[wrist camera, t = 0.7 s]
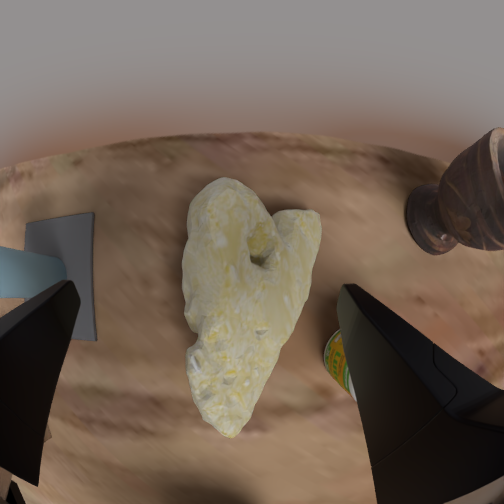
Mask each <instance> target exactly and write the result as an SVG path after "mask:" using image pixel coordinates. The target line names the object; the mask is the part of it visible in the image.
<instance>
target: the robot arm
mask: <svg viewBox="0 0 504 504" xmlns="http://www.w3.org/2000/svg"><path fill="white" fill-rule="evenodd" d="M80 305H81V299H80V296H79V294H78V291H77V289H76V286H75V284H74V282H73V281H72V280H61V281H59V282H58V283H56V284H54V285H52V286H51V287H49V288H47V289H46V290H44V291H42V292H41V293H39V294H37V295H36V296H34V297H32V298H31V299H29V300H28V301H26V302H24V303H23V304H21V305H20V306H18V307H16V308H15V309H13V310H12V311H10V312H9V313H7V314H6V315H4V316H3V317H1V318H0V504H26V503H25V501H24V499H23V497H22V494H21V492H20V490H19V487H18V485H17V483H15V482H14V481H13V480H11V478H12V474H13V475H15V476H17V477H19V478H21V479H23V480H25V481H27V482H29V483H31V484H33V485H35V486H37V487H38V484H39V474H40V465H41V457H42V450H43V444H44V437H45V432H46V427H47V422H48V417H49V413H50V408H51V404H52V400H53V396H54V393H55V389H56V385H57V382H58V378H59V375H60V372H61V368H62V365H63V362H64V359H65V356H66V353H67V350H68V347H69V344H70V341H71V337H72V334H73V330H74V326H75V323H76V319H77V316H78V312H79V309H80ZM337 314H338V320H339V326H340V332H341V338H342V344H343V350H344V354H345V358H346V362H347V366H348V369H349V373H350V377H351V381H352V384H353V388H354V392H355V396H356V400H357V404H358V408H359V412H360V417H361V421H362V425H363V430H364V434H365V439H366V444H367V448H368V453H369V458H370V463H371V469H372V475H373V480H374V486H375V492H376V498H377V504H504V390H502V389H499V388H497V387H495V386H494V385H492V384H491V383H489V382H488V381H486V380H485V379H483V378H482V377H480V376H479V375H477V374H476V373H475V372H473V371H472V370H470V369H469V368H467V367H466V366H464V365H463V364H461V363H460V362H459V361H457V360H456V359H454V358H453V357H452V356H450V355H449V354H448V353H446V352H445V351H444V350H443V349H441V348H440V347H439V346H437V345H436V344H435V343H434V344H433V342H432V341H431V340H430V339H428V338H427V337H426V336H425V335H423V334H422V333H421V332H419V331H418V330H417V329H416V328H414V327H413V326H412V325H410V324H409V323H408V322H406V321H405V320H404V319H402V318H401V317H400V316H399V315H397V314H396V313H395V312H393V311H392V310H391V309H389V308H388V307H387V306H385V305H384V304H382V303H381V302H380V301H378V300H377V299H376V298H374V297H373V296H372V295H370V294H369V293H368V292H366V291H365V290H363V289H362V288H361V287H359V286H358V285H357V284H343V285H342V287H341V290H340V294H339V298H338V302H337Z"/></svg>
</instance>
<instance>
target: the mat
mask: <svg viewBox="0 0 504 504" xmlns="http://www.w3.org/2000/svg"><path fill="white" fill-rule="evenodd" d="M93 227H94V213H93V212H91V213H85V214H78V215H72V216H65V217H59V218H54V219H48V220H42V221H37V222H32V223H26V232H25V247H24V251H26V252H31V253H36V254H41V255H46V256H51V257H57V258H59V259H60V260H61V261H62V262H63V264H64V265H65V268H66V272H67V280H72V281H73V282H74V284H75V286H76V289H77V291H78V294H79V296H80V299H81V305H80V309H79V312H78V316H77V319H76V323H75V326H74V330H73V334H72V337H71V339H79V340H89V341H97V334H96V324H95V312H94V296H93ZM24 299H25V302H26V301H28V300H29V299H31V298H24Z"/></svg>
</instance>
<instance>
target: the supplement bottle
mask: <svg viewBox="0 0 504 504" xmlns="http://www.w3.org/2000/svg"><path fill="white" fill-rule="evenodd" d="M324 363H325V366H326V369H327V371H328V372H329V374H330V375H331V376H332V377H333V378H334V379H335V380H336V381H337V382H338V383H339V385H340V386H341V387H342V388H343V389H344V390H345V391H346V392H347V393H348V394H349V395H350V396H351V397H352V398H353V399H354V400H355V401H356V402H357V400H356V396H355V392H354V388H353V384H352V381H351V377H350V373H349V369H348V366H347V362H346V358H345V354H344V350H343V344H342V338H341V332H340V329H339V330H338V331H336V332H335V333H334V334H333V335H332V337H331V338H330V339H329V341H328V343H327V345H326V348H325V352H324Z"/></svg>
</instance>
